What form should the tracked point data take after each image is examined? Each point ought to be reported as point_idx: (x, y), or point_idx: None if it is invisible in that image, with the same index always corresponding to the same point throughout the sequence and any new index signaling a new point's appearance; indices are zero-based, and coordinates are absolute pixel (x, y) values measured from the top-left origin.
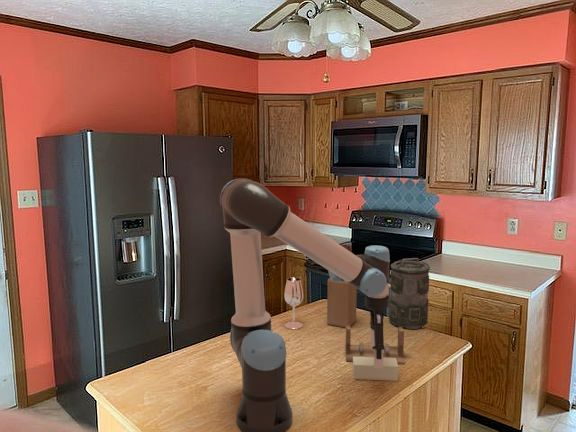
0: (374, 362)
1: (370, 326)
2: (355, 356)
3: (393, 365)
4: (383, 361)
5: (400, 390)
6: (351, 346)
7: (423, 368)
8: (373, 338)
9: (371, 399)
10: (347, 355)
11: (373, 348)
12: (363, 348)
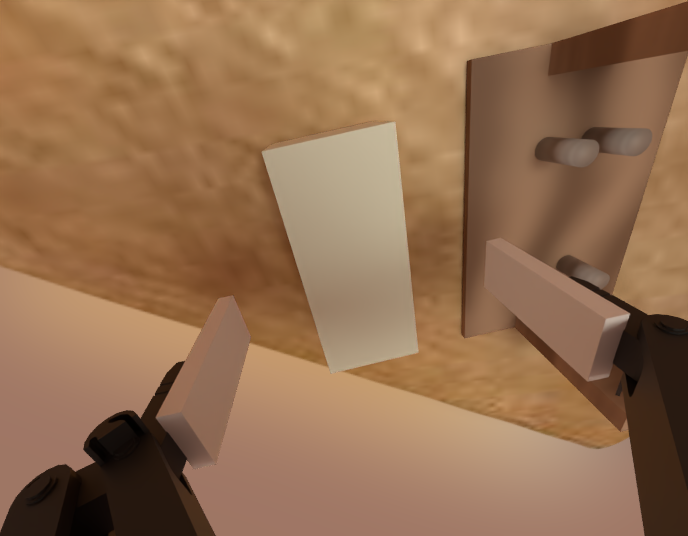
0: (208, 322)
1: (678, 328)
2: (523, 115)
3: (334, 355)
4: (367, 310)
5: (253, 343)
6: (659, 67)
7: (437, 383)
8: (535, 294)
9: (117, 257)
10: (538, 57)
11: (103, 431)
12: (571, 165)
